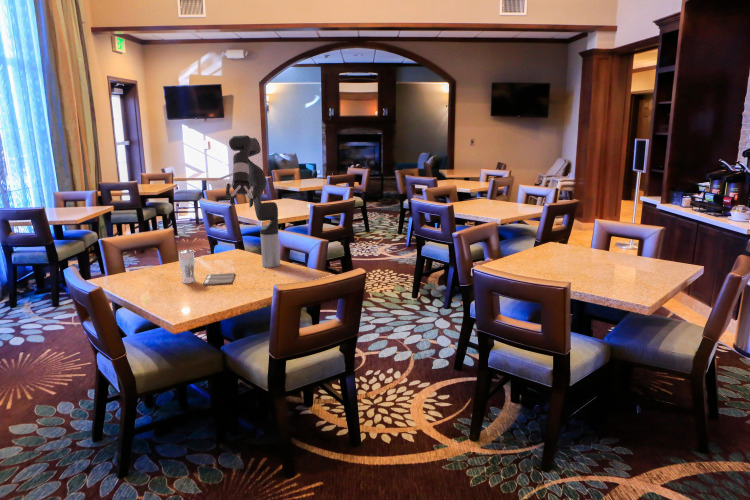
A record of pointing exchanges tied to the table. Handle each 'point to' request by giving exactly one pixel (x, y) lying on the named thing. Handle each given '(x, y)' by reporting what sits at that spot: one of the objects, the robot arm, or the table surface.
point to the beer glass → (187, 266)
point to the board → (219, 279)
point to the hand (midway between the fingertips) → (241, 206)
